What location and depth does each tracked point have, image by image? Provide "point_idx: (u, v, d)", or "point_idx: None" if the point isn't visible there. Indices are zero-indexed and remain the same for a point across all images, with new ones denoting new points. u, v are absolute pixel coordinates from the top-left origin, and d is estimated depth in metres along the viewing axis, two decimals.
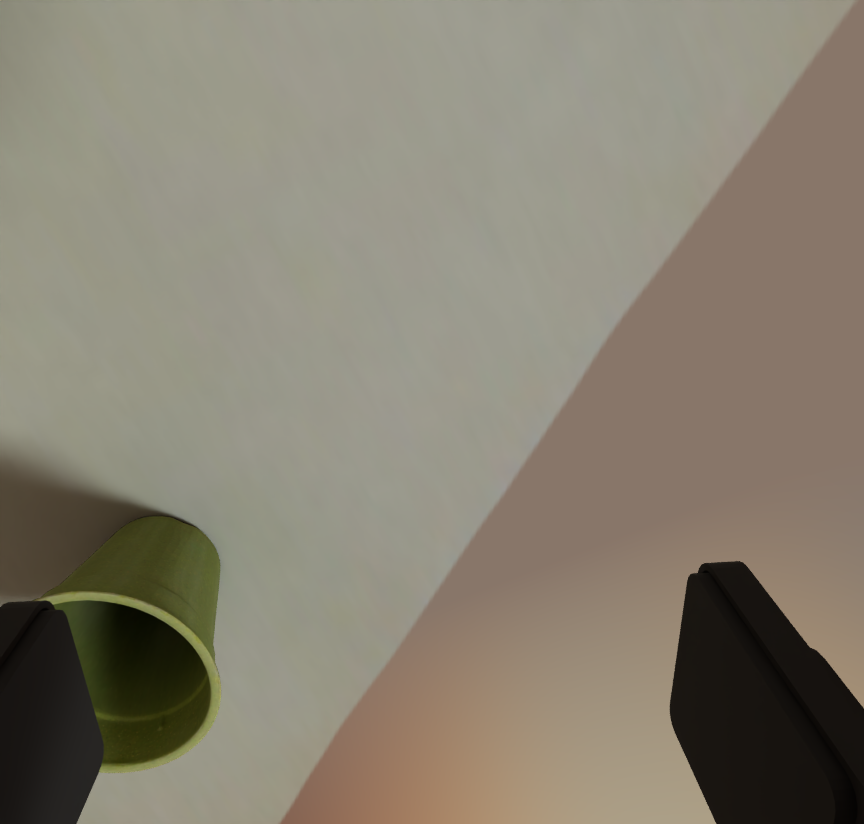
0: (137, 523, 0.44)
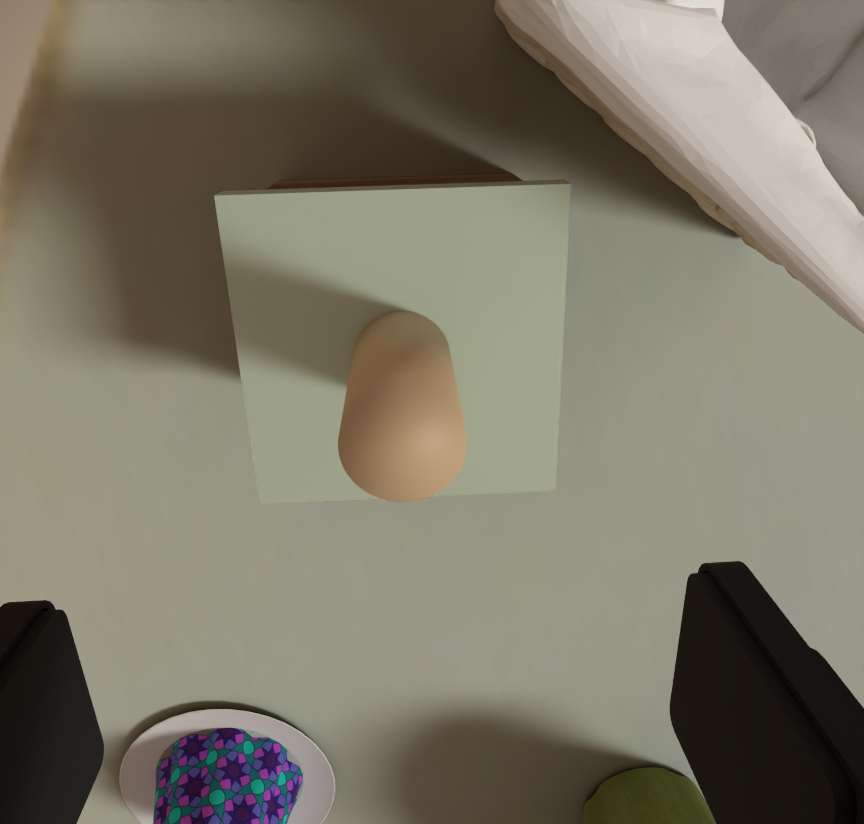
0: (639, 781, 0.40)
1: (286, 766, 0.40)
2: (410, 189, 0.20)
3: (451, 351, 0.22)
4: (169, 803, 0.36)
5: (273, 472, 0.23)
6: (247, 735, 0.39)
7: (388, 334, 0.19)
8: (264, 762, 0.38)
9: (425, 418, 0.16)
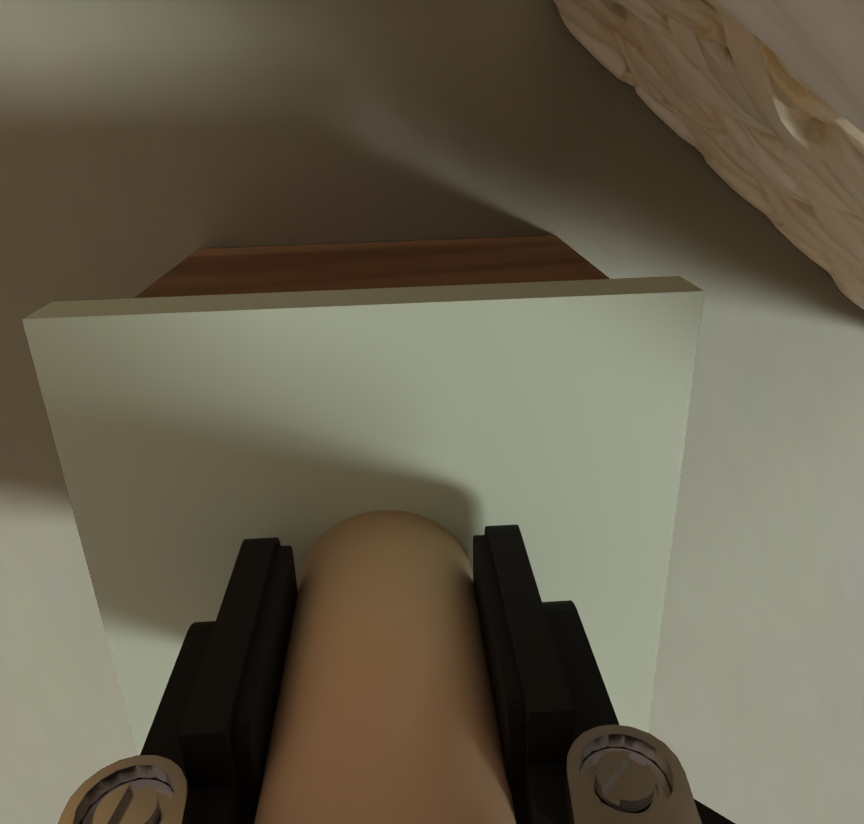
0: None
1: None
2: (401, 303, 0.10)
3: None
4: None
5: None
6: None
7: (359, 595, 0.10)
8: None
9: None
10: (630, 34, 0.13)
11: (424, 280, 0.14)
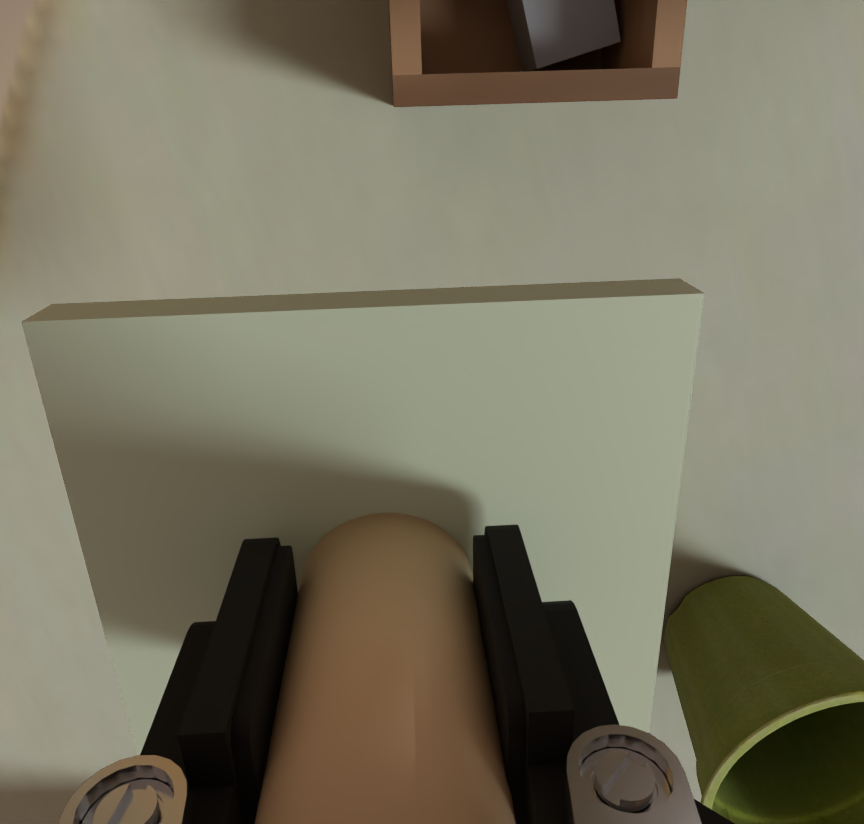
0: (730, 586, 0.38)
1: None
2: (400, 306, 0.10)
3: None
4: None
5: None
6: None
7: (359, 598, 0.10)
8: None
9: None
10: None
11: None
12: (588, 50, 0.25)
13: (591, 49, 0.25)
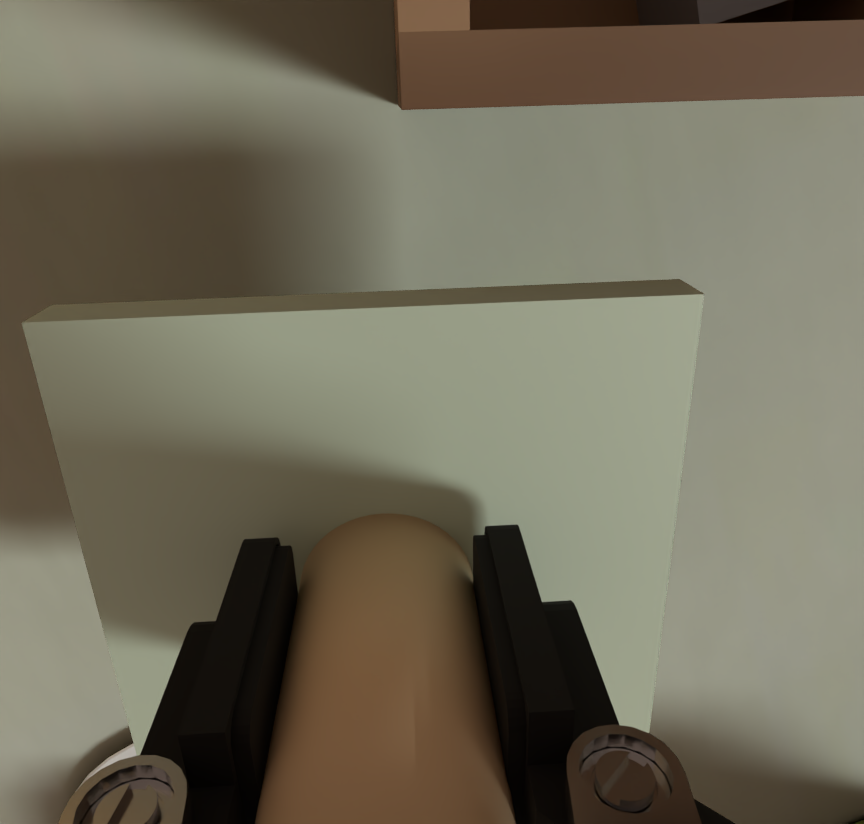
0: None
1: None
2: (401, 307, 0.10)
3: None
4: None
5: None
6: None
7: (359, 599, 0.10)
8: None
9: None
10: None
11: None
12: None
13: None
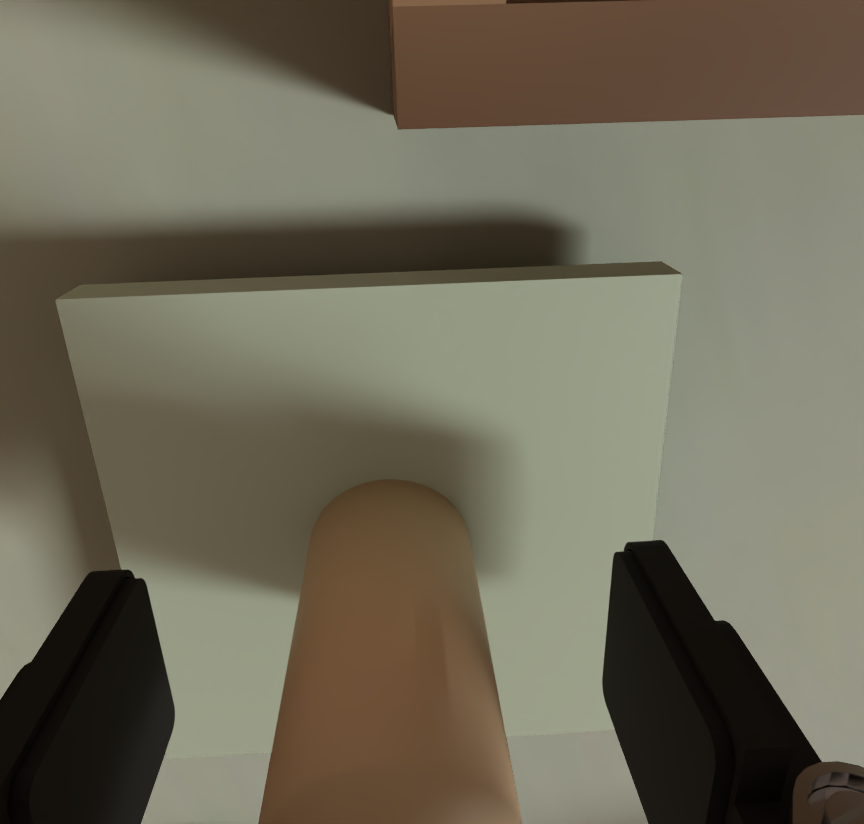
0: None
1: None
2: (403, 285, 0.11)
3: (472, 538, 0.13)
4: None
5: (187, 716, 0.15)
6: None
7: (364, 552, 0.11)
8: None
9: (438, 816, 0.08)
10: None
11: None
12: None
13: None
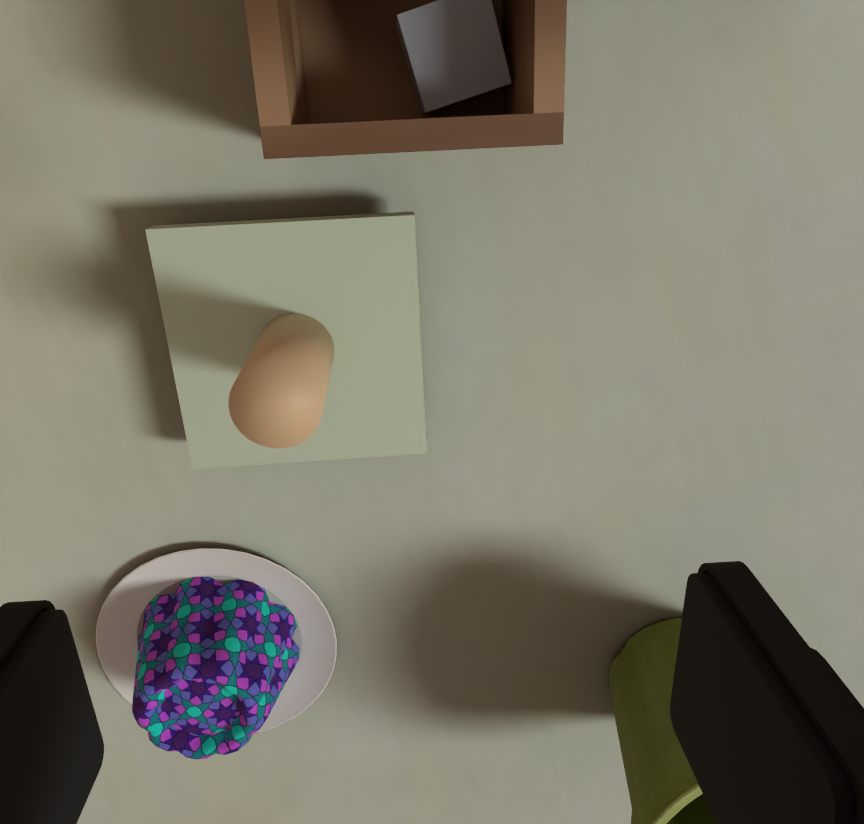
0: (672, 629, 0.37)
1: (289, 643, 0.36)
2: (293, 221, 0.27)
3: (334, 344, 0.28)
4: (175, 637, 0.32)
5: (201, 443, 0.30)
6: (266, 596, 0.36)
7: (276, 330, 0.26)
8: (279, 628, 0.35)
9: (290, 385, 0.23)
10: None
11: None
12: (478, 92, 0.24)
13: (481, 91, 0.24)
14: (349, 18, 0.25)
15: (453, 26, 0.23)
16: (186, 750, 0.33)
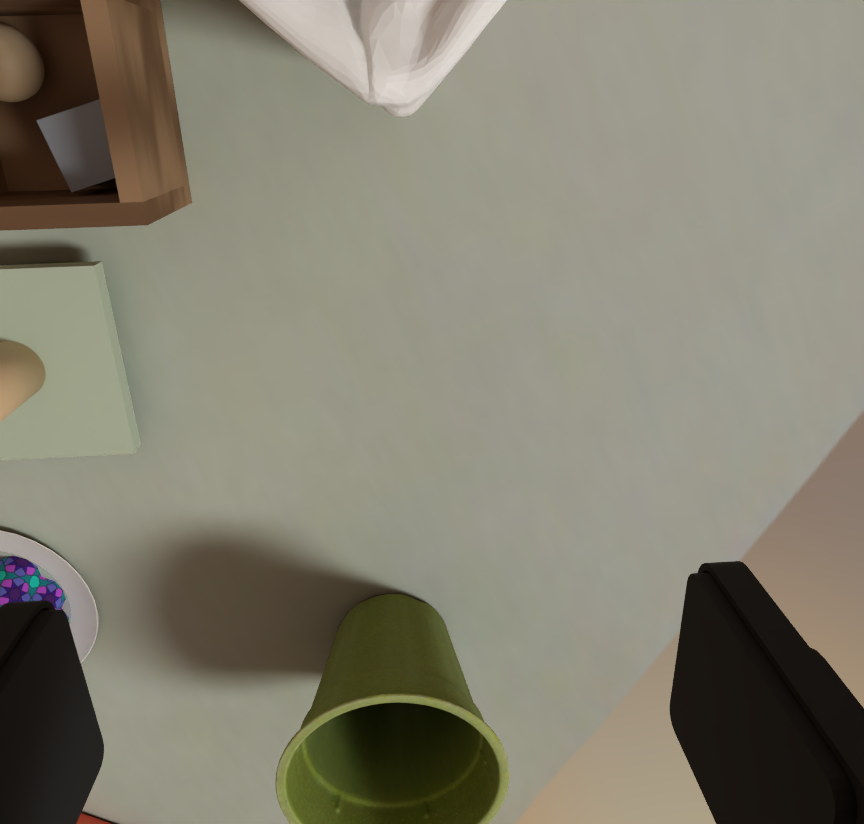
0: (377, 603, 0.44)
1: None
2: None
3: (44, 365, 0.36)
4: None
5: None
6: (38, 571, 0.43)
7: None
8: (43, 599, 0.42)
9: None
10: None
11: None
12: (110, 178, 0.31)
13: (113, 177, 0.31)
14: (28, 113, 0.32)
15: (82, 129, 0.30)
16: None
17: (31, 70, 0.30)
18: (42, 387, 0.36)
